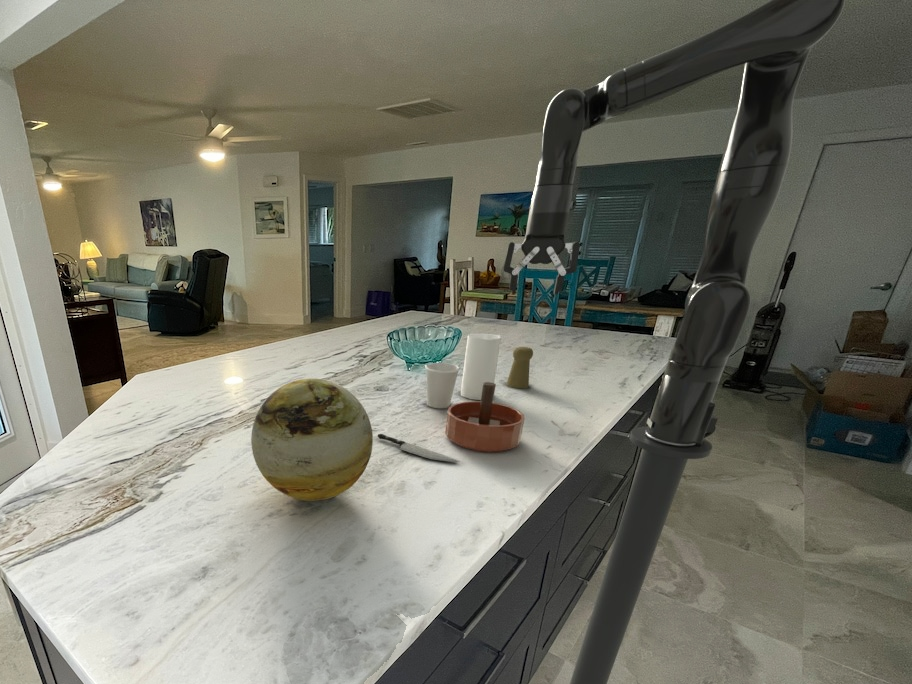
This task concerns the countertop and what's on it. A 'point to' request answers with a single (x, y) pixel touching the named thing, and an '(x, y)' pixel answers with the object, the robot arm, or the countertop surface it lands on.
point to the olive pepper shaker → (520, 368)
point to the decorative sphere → (312, 439)
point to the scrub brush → (486, 406)
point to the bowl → (484, 427)
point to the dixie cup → (440, 384)
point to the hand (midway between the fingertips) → (534, 293)
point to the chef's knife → (418, 450)
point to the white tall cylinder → (479, 363)
